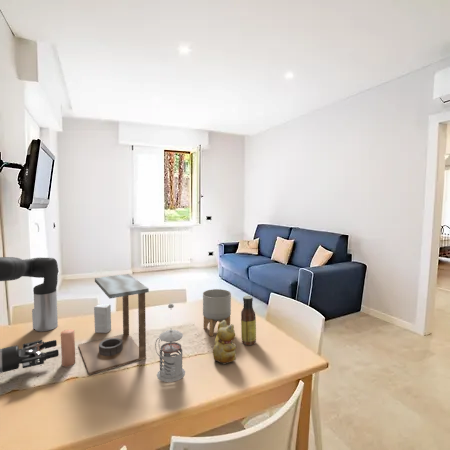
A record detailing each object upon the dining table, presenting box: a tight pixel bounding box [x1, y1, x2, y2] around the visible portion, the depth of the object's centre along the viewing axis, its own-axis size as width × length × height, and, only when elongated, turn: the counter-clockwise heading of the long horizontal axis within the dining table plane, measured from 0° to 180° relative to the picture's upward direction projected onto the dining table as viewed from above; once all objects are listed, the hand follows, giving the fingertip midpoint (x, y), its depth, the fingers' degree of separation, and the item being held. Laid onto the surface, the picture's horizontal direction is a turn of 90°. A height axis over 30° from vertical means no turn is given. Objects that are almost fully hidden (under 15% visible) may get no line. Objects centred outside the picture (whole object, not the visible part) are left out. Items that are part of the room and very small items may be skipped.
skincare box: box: [93, 303, 112, 334], centre depth 137 cm, size 6×4×12 cm
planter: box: [202, 288, 232, 337], centre depth 138 cm, size 13×13×18 cm
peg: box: [60, 328, 76, 368], centre depth 109 cm, size 4×4×12 cm
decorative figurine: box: [212, 320, 237, 365], centre depth 112 cm, size 10×8×15 cm
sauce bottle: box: [240, 295, 257, 346], centre depth 126 cm, size 7×6×20 cm
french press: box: [154, 303, 186, 383], centre depth 103 cm, size 10×12×25 cm
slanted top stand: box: [78, 273, 150, 376], centre depth 117 cm, size 21×26×27 cm
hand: (57, 347), depth 107 cm, fingers open, 8 cm apart
